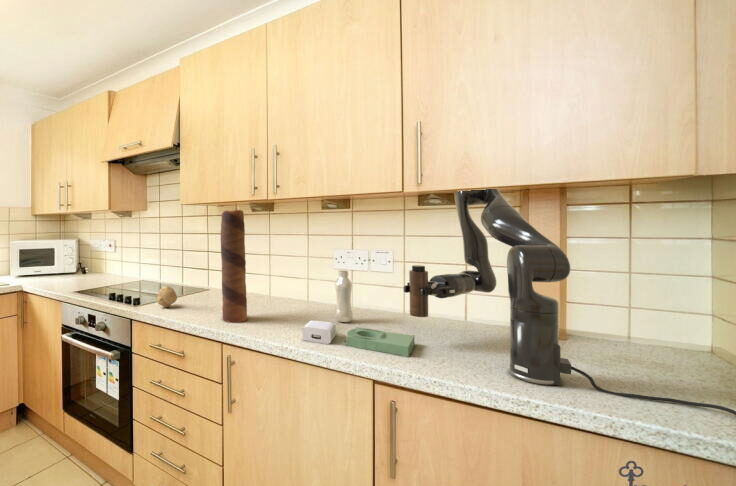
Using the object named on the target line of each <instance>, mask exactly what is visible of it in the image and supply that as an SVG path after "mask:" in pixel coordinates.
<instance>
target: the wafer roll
mask: <svg viewBox="0 0 736 486" xmlns="http://www.w3.org/2000/svg"><path fill="white" fill-rule="evenodd" d="M245 235H246V229H245V215H244V211H243V210H242V209H232V210H228V209H224V210H223V211H222V213H221V222H220V258H221V296H222V320H223V321H225V322H228V323H241V322H246V321H247V320H248V298H247V283H246V277H247V276H246V273H247V272H246V271H247V269H246V265H247V264H246V263H247V261H246V245H245V244H246V243H245V237H246V236H245Z"/></svg>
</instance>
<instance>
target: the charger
mask: <svg viewBox="0 0 736 486" xmlns="http://www.w3.org/2000/svg"><path fill="white" fill-rule="evenodd" d="M301 330H302V333H301V334H302V336H301V337H302V340H303V341H305V342H310V343H317V344H318V343H319V344H325V345H327V344H328V345H329V344H331V342H332V341H333V340H334V338H335V336H336V335H337V327H336V324H335V323H334V322H330V321H321V320H309V321H308V322H307V323H306V324H305V325H304V326H303V327H302V329H301Z"/></svg>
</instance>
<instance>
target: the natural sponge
mask: <svg viewBox="0 0 736 486" xmlns="http://www.w3.org/2000/svg"><path fill="white" fill-rule="evenodd" d="M177 300H178V295H177V293H176V291H175V290H174V288H172V286H169V285H168V286H167V285H166V286H163V287H161V288H160V289H159V291H158V293H157V299H156V301H157V304H158V305H160V306H162V307H163V308H169V307H170V306H172V305H173V304H175V303H176V302H177Z"/></svg>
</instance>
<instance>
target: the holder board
mask: <svg viewBox="0 0 736 486" xmlns="http://www.w3.org/2000/svg"><path fill="white" fill-rule="evenodd" d="M346 333H347V334H346V336H345V346H346V347H347V346H348V347H353V348H357V349H363V350H367V351H368V350H369V351H374V352H379V353H380V352H381V353H385V354H390V355H396V356H400V357H401V356H402V357H406V358H408V357H410V356H411V355H410V354H411V353H412V351H413V349H414V347H415V345H416V344H415V342H416V341H415V335H411V334H406V333H405V334H404V333H399V332H391V331H386V330H385V331H384V330H380V329H379V330H378V329H373V328H366V327H359V326H356V327H355V328H352V329H349V330H347V331H346Z"/></svg>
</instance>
